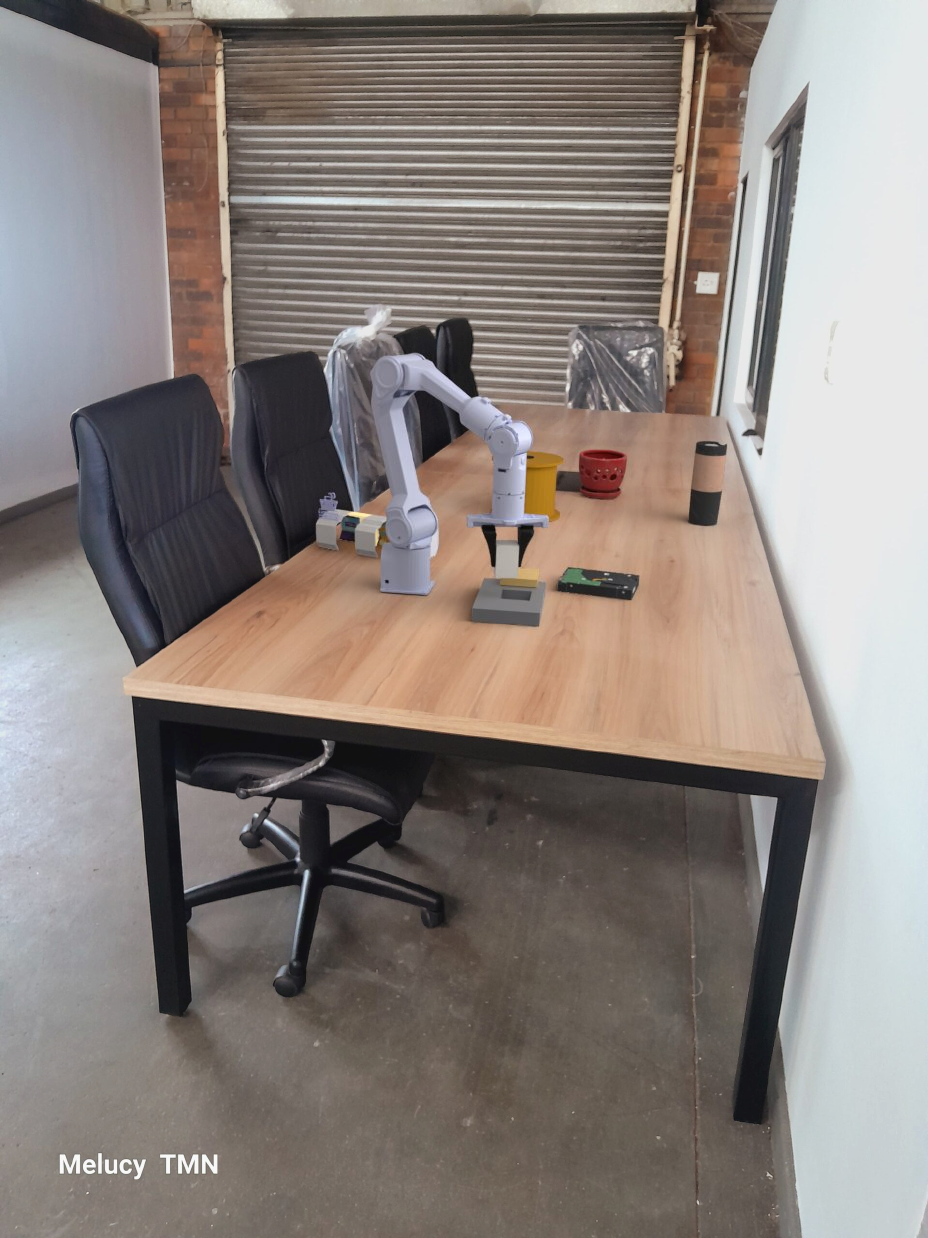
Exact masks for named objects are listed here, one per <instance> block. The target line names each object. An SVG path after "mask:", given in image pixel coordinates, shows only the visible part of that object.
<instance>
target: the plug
mask: <svg viewBox="0 0 928 1238" xmlns="http://www.w3.org/2000/svg"><path fill="white" fill-rule="evenodd" d="M517 541H518V539H496V564H495V567H492V569H493V571H492V572H493V575H494V579H500V578H518V568H519V567H518V559H519V545H518V542H517Z"/></svg>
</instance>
